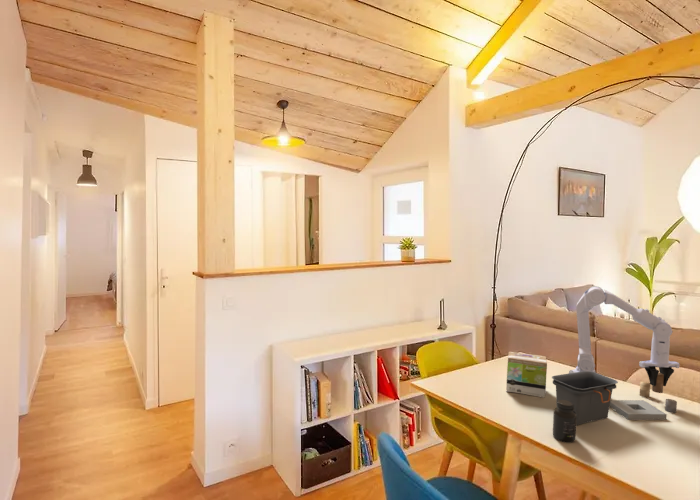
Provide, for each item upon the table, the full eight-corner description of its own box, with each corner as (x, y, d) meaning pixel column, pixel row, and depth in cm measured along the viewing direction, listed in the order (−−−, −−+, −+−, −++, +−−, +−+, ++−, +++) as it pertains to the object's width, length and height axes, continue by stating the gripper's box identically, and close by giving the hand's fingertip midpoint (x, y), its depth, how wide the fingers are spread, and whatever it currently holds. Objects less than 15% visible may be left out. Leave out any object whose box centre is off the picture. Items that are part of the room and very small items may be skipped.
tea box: (506, 392, 177) (507, 357, 176) (506, 383, 186) (508, 350, 185) (545, 398, 172) (547, 362, 171) (544, 389, 181) (546, 355, 180)
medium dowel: (643, 397, 173) (644, 384, 173) (637, 394, 176) (638, 381, 176) (651, 397, 173) (652, 384, 173) (645, 394, 176) (646, 381, 176)
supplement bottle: (548, 433, 143) (549, 398, 142) (567, 432, 144) (569, 397, 143) (560, 443, 136) (561, 407, 136) (580, 442, 137) (582, 406, 136)
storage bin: (586, 405, 166) (588, 369, 165) (625, 422, 151) (627, 383, 150) (545, 414, 157) (547, 376, 156) (583, 433, 143) (585, 392, 142)
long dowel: (656, 393, 166) (657, 375, 165) (650, 389, 169) (651, 372, 169) (664, 393, 166) (666, 375, 165) (658, 389, 169) (659, 372, 169)
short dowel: (669, 413, 159) (670, 402, 159) (662, 409, 162) (663, 398, 162) (678, 413, 159) (679, 402, 159) (671, 409, 163) (672, 398, 162)
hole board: (627, 419, 153) (628, 414, 153) (607, 405, 165) (607, 400, 165) (666, 419, 154) (666, 414, 154) (643, 405, 166) (643, 400, 166)
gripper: (649, 354, 162) (646, 389, 163) (686, 354, 162) (684, 389, 163) (636, 348, 169) (634, 382, 170) (672, 349, 170) (670, 382, 170)
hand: (657, 385), depth 167 cm, fingers closed on long dowel, 3 cm apart
